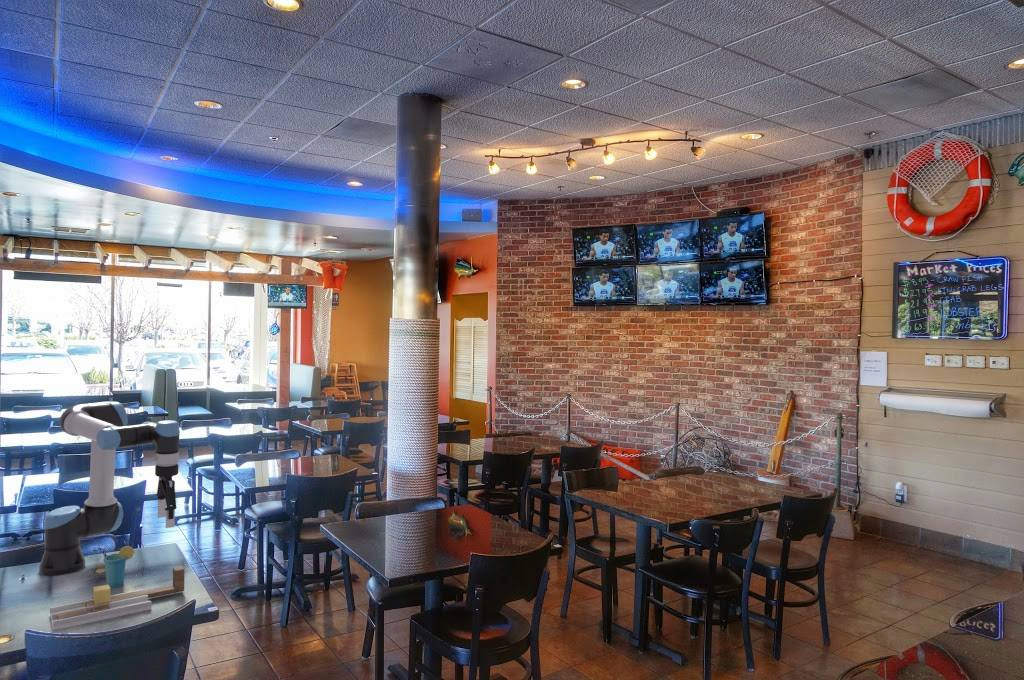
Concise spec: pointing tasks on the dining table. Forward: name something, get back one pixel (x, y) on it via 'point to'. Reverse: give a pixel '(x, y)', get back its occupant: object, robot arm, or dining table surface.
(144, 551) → the dining table surface
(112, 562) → the cup
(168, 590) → the strip
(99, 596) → the cube
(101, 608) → the broken strip
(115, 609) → the lane board
